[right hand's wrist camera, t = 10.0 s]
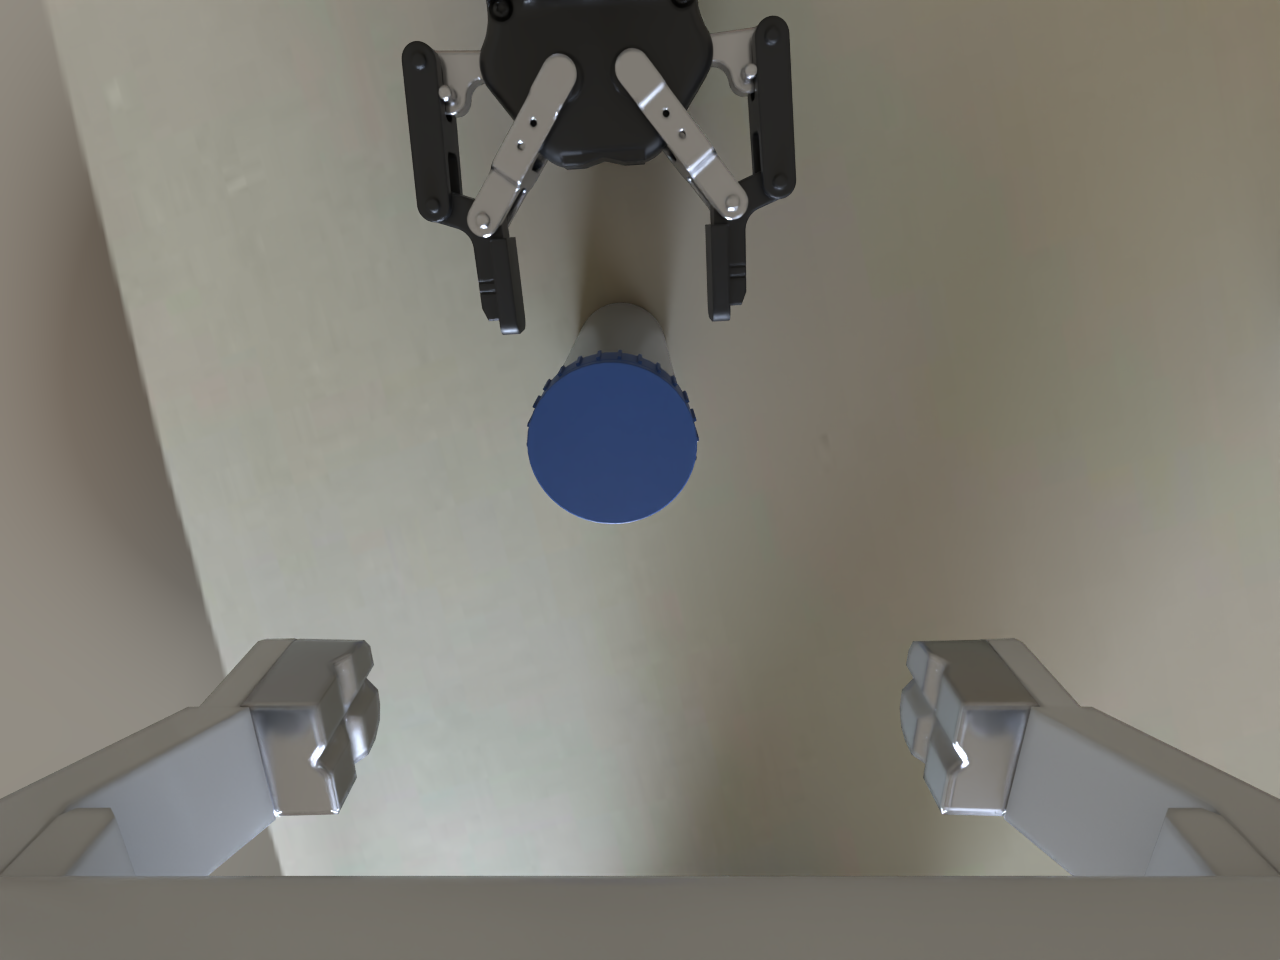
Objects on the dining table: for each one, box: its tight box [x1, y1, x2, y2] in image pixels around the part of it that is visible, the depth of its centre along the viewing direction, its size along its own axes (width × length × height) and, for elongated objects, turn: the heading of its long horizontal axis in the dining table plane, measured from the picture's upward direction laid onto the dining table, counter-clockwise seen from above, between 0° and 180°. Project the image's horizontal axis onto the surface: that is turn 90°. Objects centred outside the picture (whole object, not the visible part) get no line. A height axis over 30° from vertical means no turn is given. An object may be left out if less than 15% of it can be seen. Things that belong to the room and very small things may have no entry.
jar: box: [564, 303, 675, 376], centre depth 28 cm, size 4×4×16 cm
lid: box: [527, 350, 699, 524], centre depth 21 cm, size 5×5×2 cm
